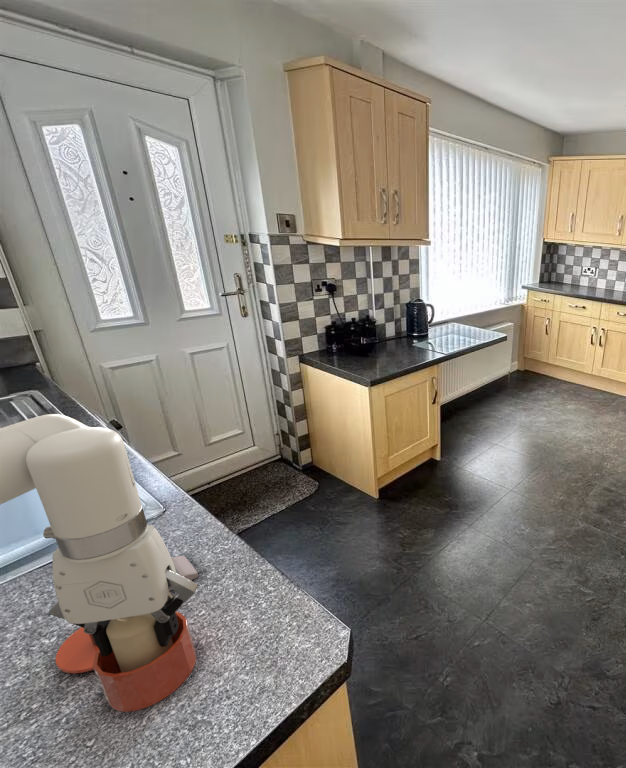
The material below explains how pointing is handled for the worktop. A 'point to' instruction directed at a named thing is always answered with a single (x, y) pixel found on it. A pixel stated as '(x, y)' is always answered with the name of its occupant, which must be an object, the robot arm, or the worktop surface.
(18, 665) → the worktop surface
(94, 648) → the lid
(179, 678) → the pot
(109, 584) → the robot arm
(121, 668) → the candle
